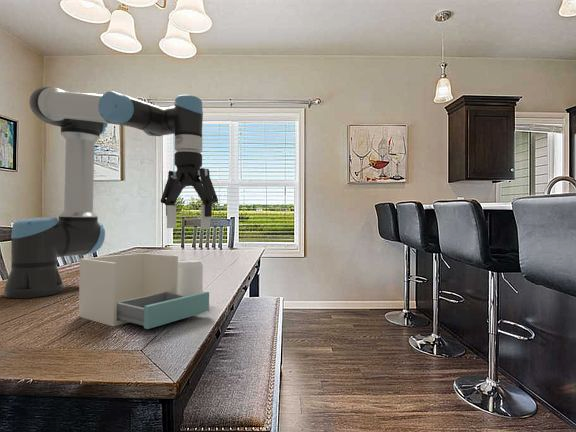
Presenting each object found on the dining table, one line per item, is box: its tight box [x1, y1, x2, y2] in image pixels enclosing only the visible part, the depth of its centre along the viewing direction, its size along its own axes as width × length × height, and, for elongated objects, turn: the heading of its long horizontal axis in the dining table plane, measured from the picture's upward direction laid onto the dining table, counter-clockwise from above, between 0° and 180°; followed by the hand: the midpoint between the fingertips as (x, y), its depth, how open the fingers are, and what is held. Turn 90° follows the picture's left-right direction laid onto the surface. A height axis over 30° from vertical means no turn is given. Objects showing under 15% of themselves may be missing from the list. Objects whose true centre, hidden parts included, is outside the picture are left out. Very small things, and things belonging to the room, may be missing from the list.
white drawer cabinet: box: [78, 252, 179, 327], centre depth 93 cm, size 14×18×14 cm
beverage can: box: [178, 258, 204, 296], centre depth 104 cm, size 8×8×12 cm
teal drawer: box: [117, 291, 210, 330], centre depth 87 cm, size 14×18×5 cm
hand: (187, 228), depth 103 cm, fingers open, 13 cm apart
